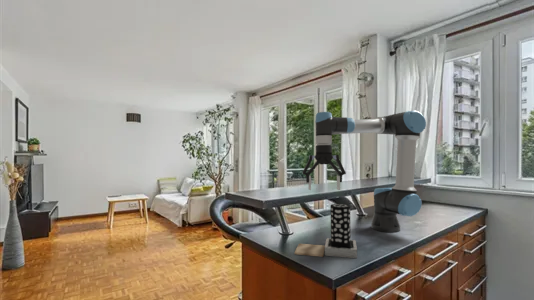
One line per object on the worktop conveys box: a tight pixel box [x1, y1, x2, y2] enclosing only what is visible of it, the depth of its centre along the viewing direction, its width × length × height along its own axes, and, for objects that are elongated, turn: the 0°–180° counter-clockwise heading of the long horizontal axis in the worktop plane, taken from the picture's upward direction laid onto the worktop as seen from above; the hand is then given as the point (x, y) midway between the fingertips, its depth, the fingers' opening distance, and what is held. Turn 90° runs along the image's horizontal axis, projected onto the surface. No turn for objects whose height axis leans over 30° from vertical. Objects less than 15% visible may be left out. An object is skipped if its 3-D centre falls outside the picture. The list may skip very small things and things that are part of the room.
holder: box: [324, 237, 358, 259], centre depth 122 cm, size 13×16×18 cm
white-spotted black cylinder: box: [330, 203, 352, 248], centre depth 121 cm, size 8×8×20 cm
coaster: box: [294, 243, 325, 258], centre depth 122 cm, size 12×12×1 cm
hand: (324, 189), depth 131 cm, fingers open, 13 cm apart
